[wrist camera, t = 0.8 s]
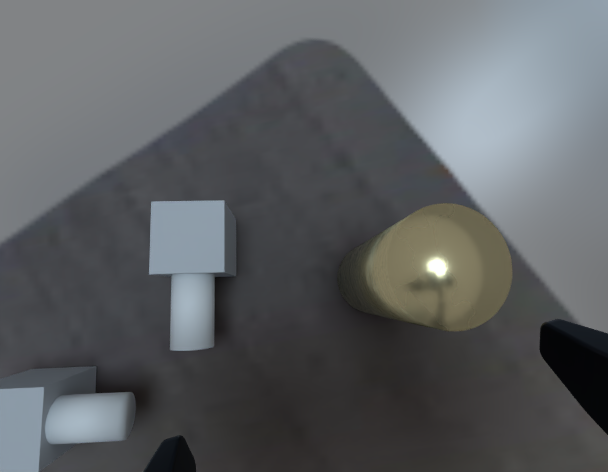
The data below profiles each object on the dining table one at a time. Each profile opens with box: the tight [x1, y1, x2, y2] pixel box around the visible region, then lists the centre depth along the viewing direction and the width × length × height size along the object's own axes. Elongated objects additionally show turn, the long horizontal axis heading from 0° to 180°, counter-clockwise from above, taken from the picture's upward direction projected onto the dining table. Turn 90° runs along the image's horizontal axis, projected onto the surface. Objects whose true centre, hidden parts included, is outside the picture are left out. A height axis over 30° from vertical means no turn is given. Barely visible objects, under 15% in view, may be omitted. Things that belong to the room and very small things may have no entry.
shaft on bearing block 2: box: [149, 201, 236, 351], centre depth 23 cm, size 8×4×6 cm, turn 2°
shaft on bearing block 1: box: [0, 366, 136, 472], centre depth 22 cm, size 8×4×6 cm, turn 92°
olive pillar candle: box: [338, 203, 512, 331], centre depth 20 cm, size 5×5×12 cm
